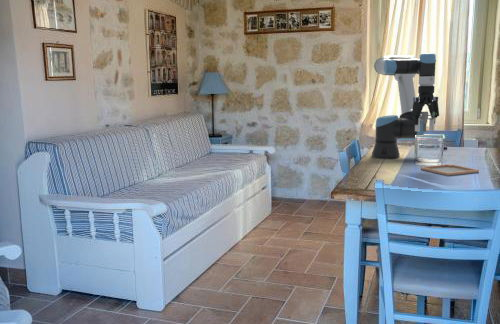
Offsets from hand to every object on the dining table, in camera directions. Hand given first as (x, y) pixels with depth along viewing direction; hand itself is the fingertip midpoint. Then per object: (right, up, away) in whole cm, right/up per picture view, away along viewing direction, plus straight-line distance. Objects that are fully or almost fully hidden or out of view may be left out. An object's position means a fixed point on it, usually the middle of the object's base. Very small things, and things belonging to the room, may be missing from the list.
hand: (424, 131), depth 241 cm
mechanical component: (0, -1, 0) cm, 1 cm away
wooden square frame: (+7, -20, -13) cm, 25 cm away
